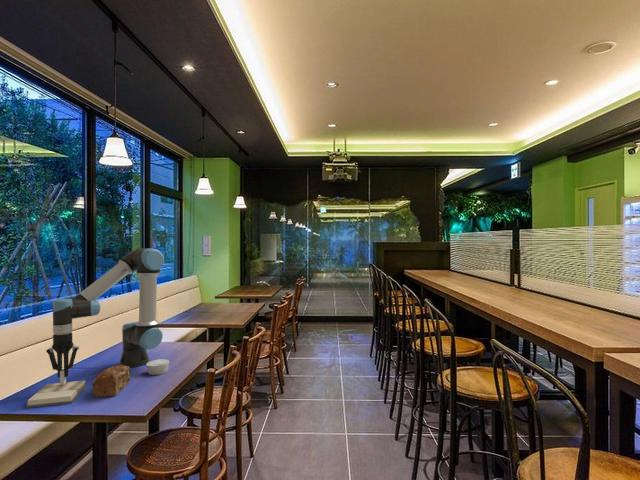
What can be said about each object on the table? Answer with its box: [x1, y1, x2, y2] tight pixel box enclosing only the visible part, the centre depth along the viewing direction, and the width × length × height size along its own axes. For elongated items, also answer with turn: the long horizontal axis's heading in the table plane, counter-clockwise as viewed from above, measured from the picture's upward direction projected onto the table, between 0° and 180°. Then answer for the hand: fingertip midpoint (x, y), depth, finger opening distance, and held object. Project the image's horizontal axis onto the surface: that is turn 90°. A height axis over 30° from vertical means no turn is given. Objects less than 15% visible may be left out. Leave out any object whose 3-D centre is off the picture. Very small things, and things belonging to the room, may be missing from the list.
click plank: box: [36, 380, 87, 393], centre depth 181 cm, size 16×11×2 cm
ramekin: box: [145, 358, 170, 376], centre depth 208 cm, size 11×11×5 cm
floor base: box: [25, 383, 88, 409], centre depth 177 cm, size 17×20×3 cm
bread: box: [92, 364, 131, 398], centre depth 185 cm, size 19×11×10 cm, turn 6°
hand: (63, 384), depth 183 cm, fingers closed
